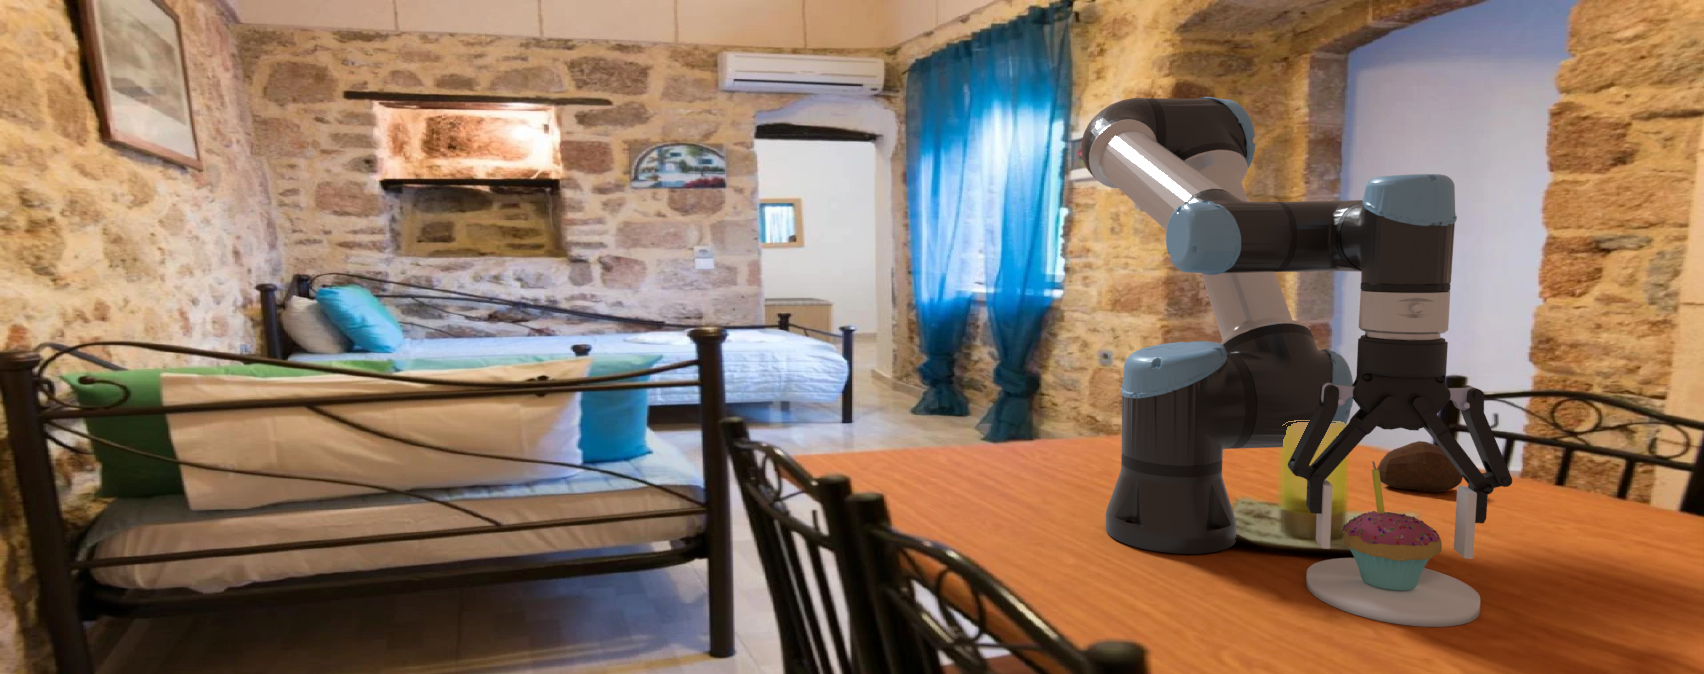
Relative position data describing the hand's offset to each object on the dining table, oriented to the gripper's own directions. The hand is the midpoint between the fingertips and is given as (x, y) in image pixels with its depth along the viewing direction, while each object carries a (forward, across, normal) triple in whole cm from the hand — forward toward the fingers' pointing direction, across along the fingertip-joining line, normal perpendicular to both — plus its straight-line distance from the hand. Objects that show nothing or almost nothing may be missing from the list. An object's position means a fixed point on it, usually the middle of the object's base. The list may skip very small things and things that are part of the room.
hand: (1391, 549), depth 90 cm
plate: (+5, 0, 0) cm, 5 cm away
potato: (+5, +16, +44) cm, 47 cm away
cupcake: (+4, 0, 0) cm, 4 cm away
